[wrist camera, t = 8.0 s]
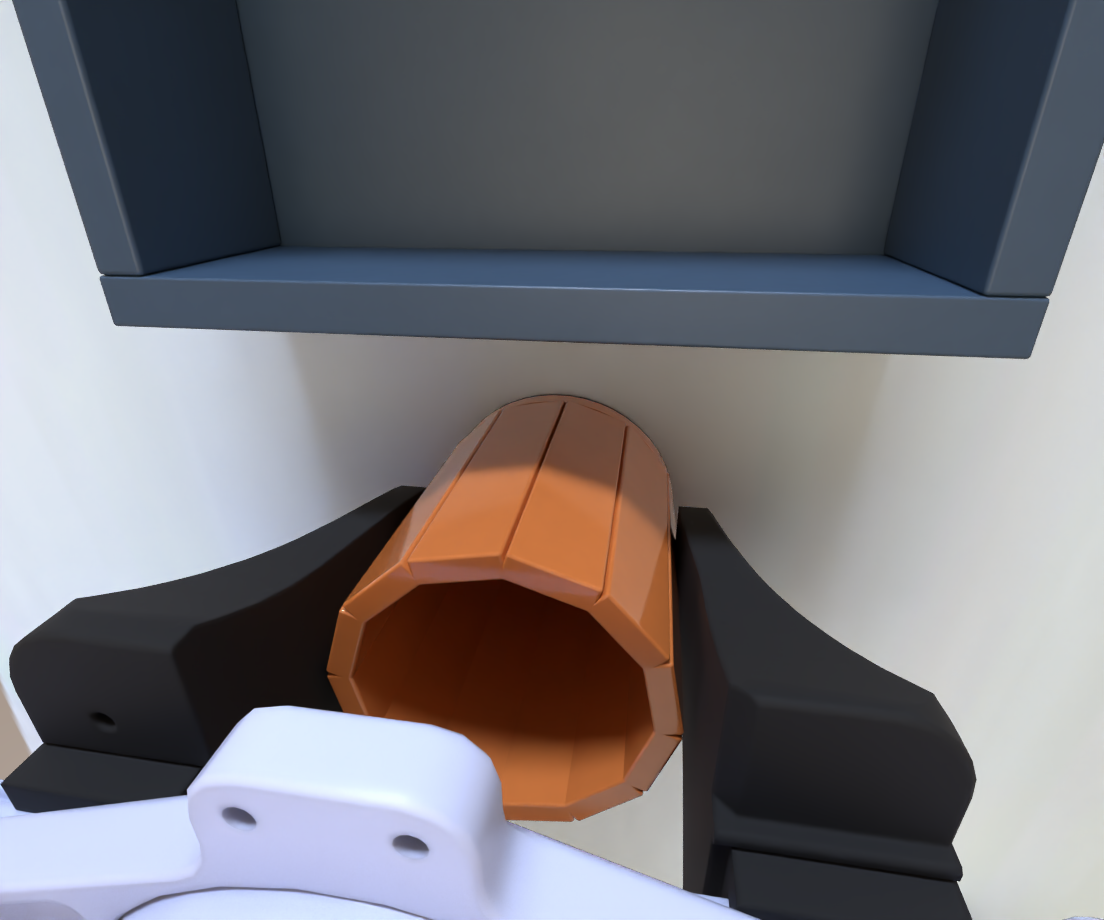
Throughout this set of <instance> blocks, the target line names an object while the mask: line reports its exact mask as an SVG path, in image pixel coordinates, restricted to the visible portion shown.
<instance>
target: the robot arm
mask: <svg viewBox="0 0 1104 920" xmlns="http://www.w3.org/2000/svg"><path fill="white" fill-rule="evenodd" d="M425 490H426V487H413V486H400V487H397V488H395V489H393V490H391V491H389V492H387V493H385V494H383V495H381V496H379V497H377V498H375V499H373V500H371V501H370V502H368V503H366V504H364V505H362V506H361V507H359V508H357V509H355V510H353V511H351V512H349V513H348V514H346V515H344V516H342V517H340V518H338V519H336V520H335V521H333V522H331V523H329V524H327V525H325V526H322V527H320V528H318V529H316V530H314V531H312V532H310V533H308V534H306V535H304V536H302V537H300V538H298V539H296V540H294V541H291V542H289V543H287V544H285V545H282V546H280V547H277V548H275V549H272V550H270V551H267V552H265V553H262V554H260V555H257V556H254V557H252V558H249V559H246V560H243V561H240V562H237V563H233V564H230V565H227V566H224V567H221V568H218V569H214V570H211V571H208V572H205V573H201V574H198V575H194V576H190V577H186V578H182V579H178V580H174V581H170V582H166V583H161V584H157V585H152V586H148V587H143V588H138V589H132V590H126V591H120V592H114V593H109V594H103V595H97V596H91V597H84V598H77V599H75V600H73V601H72V602H70V603H69V604H68V605H66V606H65V607H64V608H63V609H61V610H60V611H59V612H57V613H56V614H55V615H53V616H52V617H51V618H49V619H48V620H47V621H45V622H44V623H43V624H41V625H40V626H39V627H37V628H36V629H35V630H33V631H32V632H31V633H29V634H28V635H27V636H25V637H24V638H23V639H22V640H20V641H19V642H18V643H17V644H16V645H15V646H14V647H13V650H12V652H11V655H10V658H9V666H10V678H11V680H12V683H13V685H14V688H15V691H16V693H17V695H18V696H19V698H20V700H21V702H22V704H23V706H24V708H25V710H26V711H27V713H28V715H29V717H30V719H31V721H32V723H33V725H34V726H35V728H36V730H37V732H38V734H39V736H40V738H41V740H42V742H44V743H43V744H42V745H41V746H40V747H39V748H38V749H37V750H36V751H35V752H34V753H32V754H31V755H30V756H29V757H28V758H27V759H26V760H25V761H24V762H23V763H22V764H21V765H20V766H19V767H18V768H17V769H15V771H13V772H12V773H11V774H10V775H9V776H8V777H7V778H6V779H5V780H1V779H0V920H972V918H971V915H970V913H969V910H968V908H967V905H966V903H965V901H964V898H963V896H962V893H961V891H960V888H959V886H958V884H957V881H960V880H961V878H962V876H963V872H962V866H961V864H960V861H959V859H958V857H957V854H956V852H955V850H954V847H953V845H952V841H953V839H954V837H955V835H956V832H957V830H958V828H959V826H960V824H961V821H962V819H963V817H964V815H965V812H966V810H967V808H968V806H969V804H970V801H971V799H972V796H973V792H974V788H975V783H976V775H975V770H974V766H973V761H972V759H971V757H970V755H969V753H968V751H967V749H966V748H965V746H964V744H963V742H962V740H961V738H960V736H959V734H958V732H957V731H956V729H955V727H954V725H953V723H952V722H951V720H950V718H949V717H948V715H947V714H946V712H945V711H944V709H943V708H942V706H941V705H940V703H939V702H938V700H937V698H936V697H935V695H934V694H933V693H931V692H929V691H927V690H925V689H923V688H921V687H919V686H917V685H915V684H913V683H911V682H909V681H907V680H905V679H903V678H901V677H899V676H897V675H895V674H893V673H891V672H889V671H887V670H885V669H883V668H881V667H879V666H877V665H876V664H874V663H872V662H871V661H869V660H867V659H865V658H864V657H862V656H860V655H859V654H857V653H855V652H854V651H852V650H850V649H849V648H847V647H846V646H844V645H843V644H841V643H839V642H838V641H836V640H835V639H833V638H832V637H830V636H829V635H828V634H826V633H825V632H823V631H822V630H821V629H819V628H818V627H817V626H815V625H814V624H812V623H811V622H810V621H808V620H807V619H806V618H805V617H803V616H802V615H801V614H799V613H798V612H797V611H796V610H795V609H794V608H792V607H791V606H790V605H789V604H788V603H787V602H786V601H784V600H783V599H782V598H781V597H780V596H779V595H778V594H776V593H775V592H774V591H773V590H772V589H771V588H770V587H769V586H768V585H767V584H766V583H765V582H764V581H763V579H762V578H761V577H760V576H759V575H758V574H757V573H756V572H755V571H754V570H753V568H752V567H751V566H750V565H749V564H748V562H747V561H746V560H745V559H744V557H743V556H742V555H741V554H740V552H739V551H738V550H737V549H736V547H735V546H734V545H733V543H732V542H731V541H730V539H729V538H728V537H727V535H726V534H725V532H724V531H723V529H722V528H721V526H720V525H719V523H718V522H717V520H716V519H715V517H714V516H713V514H712V513H711V512H710V511H709V509H708V508H696V507H682V506H679V509H678V519H677V529H676V539H675V540H676V567H677V580H678V594H679V617H680V643H681V669H682V694H683V720H684V732H683V734H682V742H683V889H681V888H678V887H675V886H673V885H670V884H668V883H665V882H663V881H660V880H657V879H655V878H652V877H650V876H647V875H644V874H642V873H639V872H637V871H634V870H632V869H629V868H626V867H624V866H621V865H619V864H616V863H614V862H611V861H608V860H606V859H603V858H601V857H598V856H596V855H593V854H590V853H588V852H585V851H583V850H580V849H577V848H575V847H572V846H570V845H567V844H565V843H562V842H559V841H557V840H554V839H552V838H549V837H547V836H544V835H541V834H539V833H536V832H534V831H531V830H529V829H526V828H523V827H521V826H518V825H516V824H513V823H510V822H508V821H506V819H505V815H504V811H503V802H502V786H501V781H500V779H499V776H498V774H497V772H496V769H495V767H494V765H493V763H492V760H491V758H490V757H489V756H488V755H487V753H485V752H484V751H483V750H482V749H480V748H479V747H478V746H477V745H475V744H474V743H473V742H472V741H470V740H469V739H468V738H467V737H465V736H464V735H463V734H460V733H457V732H454V731H451V730H447V729H444V728H441V727H438V726H435V725H432V724H425V723H417V722H410V721H402V720H395V719H387V718H380V717H372V716H365V715H357V714H350V713H343V711H342V709H341V707H340V704H339V702H338V700H337V698H336V696H335V693H334V691H333V689H332V687H331V685H330V682H329V680H328V678H327V676H328V672H327V670H326V669H327V664H328V659H329V655H330V650H331V645H332V641H333V636H334V632H335V627H336V622H337V618H338V613H339V610H340V608H341V607H342V605H343V604H344V602H345V601H346V599H347V598H348V596H349V595H350V594H351V592H352V591H353V590H354V588H355V587H356V585H357V584H358V583H359V581H360V580H361V578H362V577H363V576H364V574H365V573H366V572H367V570H368V569H369V567H370V566H371V565H372V563H373V562H374V560H375V559H376V558H377V556H378V555H379V553H380V552H381V551H382V549H383V548H384V547H385V545H386V544H387V542H388V541H389V540H390V538H391V537H392V535H393V534H394V533H395V531H396V530H397V528H398V527H399V526H400V524H401V523H402V522H403V520H404V519H405V517H406V516H407V515H408V513H409V512H410V510H411V509H412V508H413V506H414V505H415V503H416V502H417V501H418V499H419V498H420V497H421V495H422V494H423V492H424V491H425ZM1064 920H1104V919H1099V918H1093V917H1071V918H1067V919H1064Z"/></svg>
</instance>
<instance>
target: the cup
mask: <svg viewBox="0 0 1104 920" xmlns="http://www.w3.org/2000/svg"><path fill="white" fill-rule="evenodd" d="M675 539H676V521H675V513H674V506H673V493H672V485H671V481H670V475H669V473H668V471H667V468H666V465H665V463H664V461H663V459H662V457H661V455H660V453H659V451H658V450H657V448H656V447H655V446H654V444H653V443H652V442H651V440H650V439H649V438H648V437H647V436H646V435H645V434H644V433H643V432H642V431H641V429H640V428H639V427H637V426H636V425H635V424H634V423H632V422H631V421H630V420H629V419H627V418H626V417H624V416H623V415H621V414H619V413H618V412H616V411H614V410H613V409H610V408H608V407H606V406H604V405H601V404H599V403H596V402H593V401H590V400H587V399H583V398H577V397H572V396H562V395H546V396H535V397H530V398H525V399H521V400H518V401H516V402H513V403H510V404H507V405H505V406H504V407H502V408H500V409H498V410H496V411H494V412H493V413H491V414H490V415H489V416H487V417H486V418H484V419H483V420H482V421H481V422H480V423H479V424H478V425H477V426H476V427H475V428H474V429H473V430H472V432H471V433H470V434H469V435H468V436H466V437H465V438H464V439H463V440H462V441H460V442H459V444H458V445H457V447H456V448H455V449H454V451H453V452H452V454H451V455H450V456H449V458H448V459H447V460H446V462H445V463H444V465H443V466H442V467H441V469H440V470H439V472H438V473H437V474H436V476H435V477H434V479H433V480H432V481H431V483H430V484H429V485H428V487H427V488H426V490H425V491H424V492H423V494H422V495H421V497H420V498H419V499H418V501H417V502H416V503H415V505H414V506H413V508H412V509H411V510H410V512H409V513H408V515H407V516H406V517H405V519H404V520H403V522H402V523H401V524H400V526H399V527H398V528H397V530H396V531H395V533H394V534H393V535H392V537H391V538H390V540H389V541H388V542H387V544H386V545H385V547H384V548H383V549H382V551H381V552H380V553H379V555H378V556H377V558H376V559H375V560H374V562H373V563H372V565H371V566H370V567H369V569H368V570H367V572H366V573H365V574H364V576H363V577H362V578H361V580H360V581H359V583H358V584H357V585H356V587H355V588H354V590H353V591H352V592H351V594H350V595H349V596H348V598H347V599H346V601H345V602H344V604H343V605H342V607H341V608H340V610H339V613H338V618H337V622H336V627H335V632H334V636H333V641H332V645H331V650H330V655H329V659H328V664H327V669H326V670H327V672H328V676H327V678H328V680H329V682H330V685H331V687H332V689H333V691H334V693H335V696H336V698H337V700H338V702H339V704H340V707H341V709H342V711H343V713H350V714H357V715H365V716H372V717H380V718H387V719H395V720H402V721H410V722H417V723H425V724H432V725H435V726H438V727H441V728H444V729H447V730H451V731H454V732H457V733H460V734H463V735H464V736H465V737H467V738H468V739H469V740H470V741H472V742H473V743H474V744H475V745H477V746H478V747H479V748H480V749H482V750H483V751H484V752H485V753H487V755H488V756H489V757H490V758H491V760H492V763H493V765H494V767H495V769H496V772H497V774H498V776H499V779H500V781H501V786H502V802H503V811H504V815H505V819H506V820H521V821H558V822H572V821H573V820H574V818H575V819H576V820H578V821H580V820H583V819H585V818H588V817H590V816H593V815H595V814H598V813H600V812H603V811H605V810H607V809H610V808H612V807H615V806H617V805H620V804H622V803H625V802H627V801H630V800H632V799H635V798H637V797H640V796H642V795H643V791H648V790H649V788H650V787H651V785H652V784H653V782H654V781H655V779H656V778H657V776H658V775H659V773H660V772H661V770H662V769H663V767H664V766H665V764H666V763H667V761H668V760H669V758H670V757H671V755H672V754H673V752H674V751H675V749H676V748H677V746H678V745H679V743H680V742H681V740H682V734H683V732H684V720H683V694H682V669H681V643H680V617H679V594H678V580H677V567H676V540H675Z"/></svg>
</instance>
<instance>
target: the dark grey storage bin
mask: <svg viewBox="0 0 1104 920" xmlns="http://www.w3.org/2000/svg"><path fill="white" fill-rule="evenodd" d="M12 1H13V5H14V8H15V11H16V14H17V17H18V20H19V23H20V27H21V30H22V33H23V36H24V39H25V42H26V45H27V49H28V52H29V55H30V58H31V61H32V64H33V67H34V70H35V74H36V77H37V80H38V83H39V86H40V89H41V92H42V96H43V99H44V102H45V105H46V108H47V111H48V114H49V118H50V121H51V124H52V127H53V130H54V133H55V136H56V140H57V143H58V146H59V149H60V152H61V155H62V158H63V161H64V165H65V168H66V171H67V174H68V177H69V180H70V183H71V187H72V190H73V193H74V196H75V199H76V202H77V205H78V209H79V212H80V215H81V218H82V221H83V224H84V227H85V231H86V234H87V237H88V240H89V243H90V246H91V249H92V252H93V256H94V259H95V262H96V265H97V268H98V271H99V272H100V273H101V274H104V275H103V276H101V277H100V281H101V285H102V288H103V291H104V294H105V297H106V300H107V303H108V306H109V310H110V313H111V316H112V319H113V322H114V324H115V325H116V326H135V327H162V328H190V329H217V330H245V331H272V332H300V333H327V334H354V335H382V336H409V337H437V338H464V339H491V340H519V341H546V342H574V343H601V344H629V345H656V346H683V347H711V348H738V349H766V350H793V351H820V352H848V353H875V354H903V355H930V356H958V357H985V358H1012V359H1027V358H1029V357H1030V356H1031V353H1032V350H1033V347H1034V345H1035V342H1036V339H1037V336H1038V333H1039V330H1040V327H1041V324H1042V321H1043V318H1044V316H1045V313H1046V310H1047V307H1048V304H1049V299H1048V298H1046V296H1050V295H1051V293H1052V291H1053V288H1054V285H1055V282H1056V279H1057V276H1058V273H1059V271H1060V268H1061V265H1062V262H1063V259H1064V256H1065V253H1066V250H1067V247H1068V244H1069V242H1070V239H1071V236H1072V233H1073V230H1074V227H1075V224H1076V221H1077V218H1078V215H1079V213H1080V210H1081V207H1082V204H1083V201H1084V198H1085V195H1086V192H1087V189H1088V186H1089V184H1090V181H1091V178H1092V175H1093V172H1094V169H1095V166H1096V163H1097V160H1098V158H1099V155H1100V152H1101V149H1102V146H1103V143H1104V0H12Z"/></svg>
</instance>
